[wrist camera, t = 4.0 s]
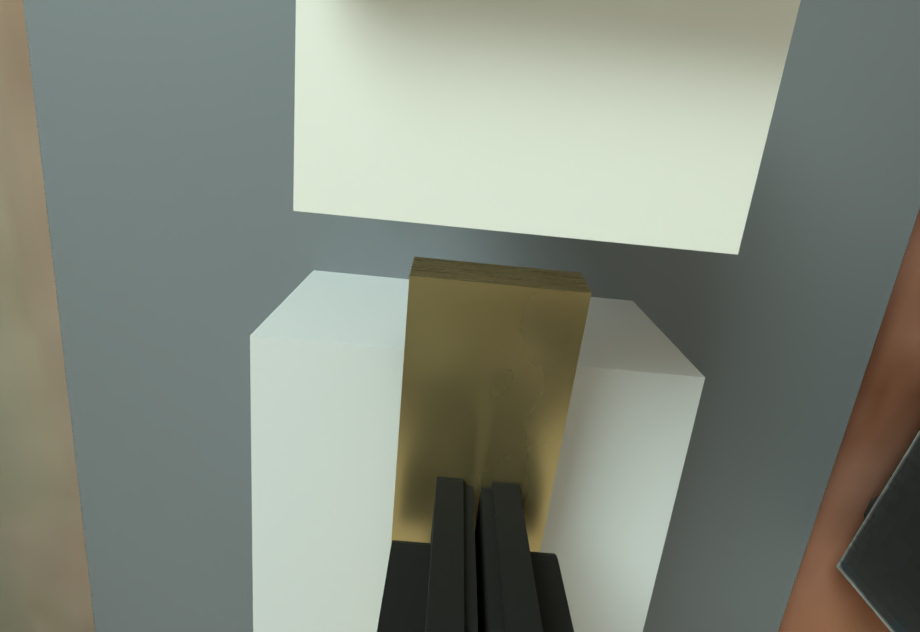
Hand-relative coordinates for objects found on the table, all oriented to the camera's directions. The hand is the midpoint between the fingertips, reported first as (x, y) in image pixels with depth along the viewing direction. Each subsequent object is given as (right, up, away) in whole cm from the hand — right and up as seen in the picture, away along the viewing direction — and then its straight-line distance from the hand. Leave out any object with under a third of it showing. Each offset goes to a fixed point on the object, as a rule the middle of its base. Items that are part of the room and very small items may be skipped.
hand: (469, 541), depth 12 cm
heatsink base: (0, +3, +9) cm, 10 cm away
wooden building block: (-1, -4, +7) cm, 8 cm away
